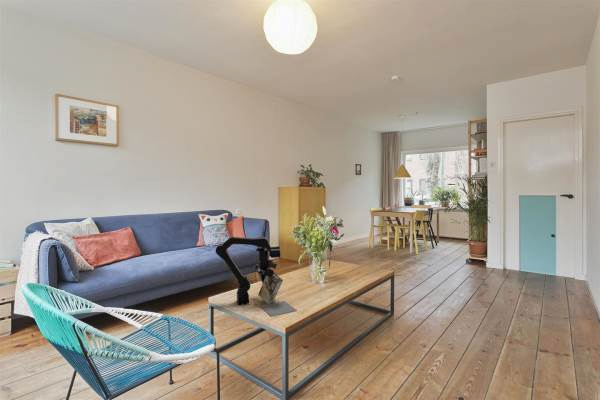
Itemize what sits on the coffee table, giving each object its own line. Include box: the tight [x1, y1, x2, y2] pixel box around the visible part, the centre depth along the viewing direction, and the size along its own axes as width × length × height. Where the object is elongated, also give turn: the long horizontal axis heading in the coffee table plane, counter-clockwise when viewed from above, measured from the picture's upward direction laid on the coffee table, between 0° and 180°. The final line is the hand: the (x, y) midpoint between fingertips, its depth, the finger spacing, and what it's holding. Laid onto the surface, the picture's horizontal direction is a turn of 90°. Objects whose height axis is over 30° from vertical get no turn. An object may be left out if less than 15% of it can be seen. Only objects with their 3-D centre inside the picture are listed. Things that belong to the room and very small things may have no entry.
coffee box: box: [257, 272, 283, 305], centre depth 181 cm, size 9×6×16 cm
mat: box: [259, 300, 298, 317], centre depth 173 cm, size 16×16×1 cm
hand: (263, 283), depth 184 cm, fingers closed
